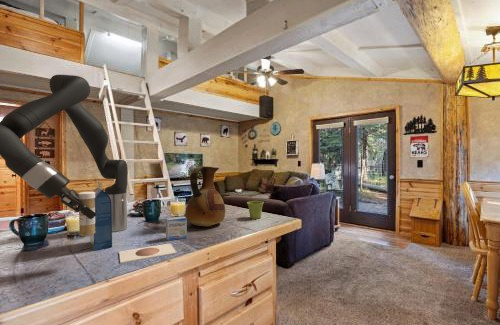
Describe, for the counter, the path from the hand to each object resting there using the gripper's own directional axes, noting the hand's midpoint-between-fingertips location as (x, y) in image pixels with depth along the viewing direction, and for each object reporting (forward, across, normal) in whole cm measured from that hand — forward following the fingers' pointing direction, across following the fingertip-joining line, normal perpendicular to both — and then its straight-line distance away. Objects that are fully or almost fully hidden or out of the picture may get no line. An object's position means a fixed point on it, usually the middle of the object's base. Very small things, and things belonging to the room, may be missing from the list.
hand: (94, 215), depth 85 cm
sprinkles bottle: (+3, 0, +6) cm, 6 cm away
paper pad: (+23, +1, 0) cm, 23 cm away
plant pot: (+65, +29, -42) cm, 83 cm away
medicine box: (+32, +14, -9) cm, 36 cm away
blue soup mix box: (+12, +20, +11) cm, 26 cm away
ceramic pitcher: (+45, +29, -22) cm, 58 cm away
